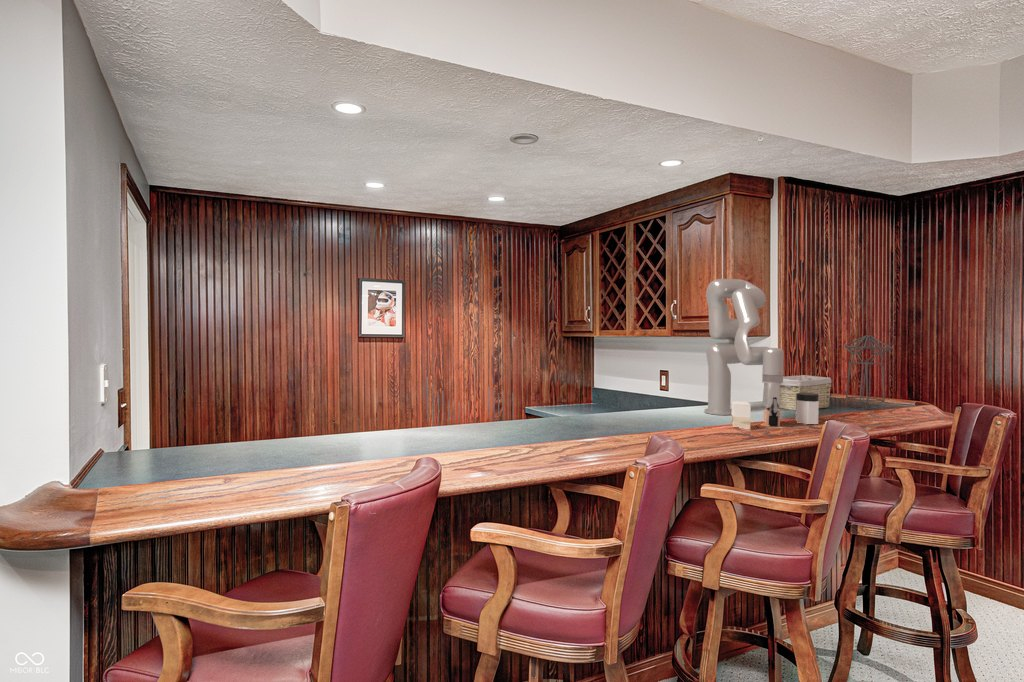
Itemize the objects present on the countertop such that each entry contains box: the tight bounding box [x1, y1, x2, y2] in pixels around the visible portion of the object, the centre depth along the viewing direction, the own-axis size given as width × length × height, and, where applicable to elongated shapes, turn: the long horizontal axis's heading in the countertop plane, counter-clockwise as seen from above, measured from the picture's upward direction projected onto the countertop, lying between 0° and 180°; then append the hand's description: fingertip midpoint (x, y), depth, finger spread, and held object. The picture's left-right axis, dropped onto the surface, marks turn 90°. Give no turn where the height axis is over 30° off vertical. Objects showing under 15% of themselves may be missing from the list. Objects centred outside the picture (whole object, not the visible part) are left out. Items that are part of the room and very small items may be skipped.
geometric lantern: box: [843, 334, 893, 410], centre depth 274 cm, size 16×16×35 cm
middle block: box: [731, 401, 752, 418], centre depth 223 cm, size 6×6×5 cm
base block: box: [731, 415, 751, 430], centre depth 223 cm, size 6×6×5 cm
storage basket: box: [779, 374, 832, 411], centre depth 276 cm, size 24×16×15 cm
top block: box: [763, 408, 781, 427], centre depth 230 cm, size 5×5×6 cm
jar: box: [795, 393, 820, 425], centre depth 235 cm, size 9×8×12 cm
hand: (771, 424), depth 230 cm, fingers closed on top block, 4 cm apart
